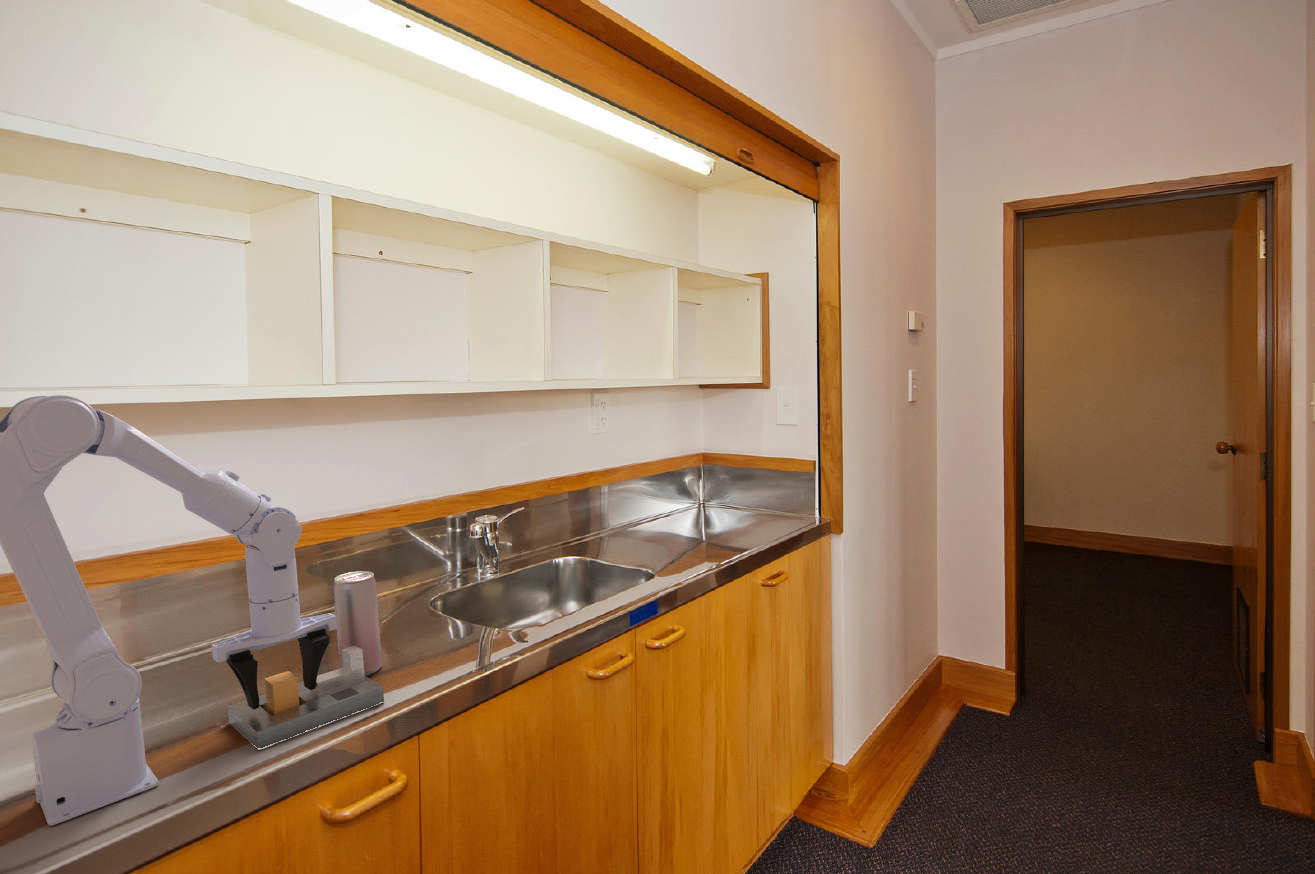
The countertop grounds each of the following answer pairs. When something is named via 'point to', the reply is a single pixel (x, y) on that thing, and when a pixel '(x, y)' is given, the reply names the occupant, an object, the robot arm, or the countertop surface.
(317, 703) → the rosette plate
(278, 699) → the orange rectangular block
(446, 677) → the countertop surface
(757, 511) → the countertop surface
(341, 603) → the beverage can
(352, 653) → the bracket
